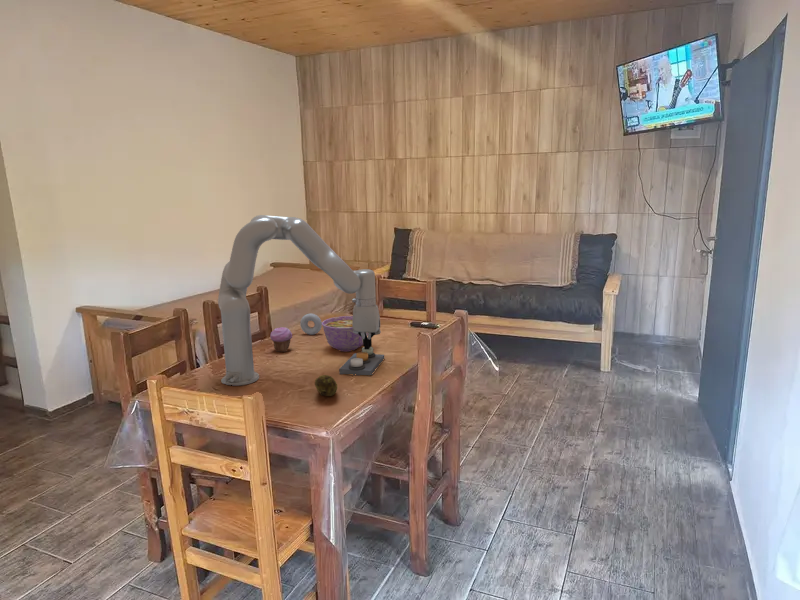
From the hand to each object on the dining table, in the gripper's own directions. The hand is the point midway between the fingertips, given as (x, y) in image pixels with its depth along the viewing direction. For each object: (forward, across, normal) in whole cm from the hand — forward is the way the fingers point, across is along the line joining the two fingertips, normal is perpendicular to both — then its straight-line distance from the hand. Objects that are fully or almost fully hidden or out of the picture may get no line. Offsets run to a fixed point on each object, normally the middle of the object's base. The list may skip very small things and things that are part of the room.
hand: (367, 348), depth 217 cm
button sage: (+2, 0, 0) cm, 2 cm away
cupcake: (+5, -39, +7) cm, 40 cm away
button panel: (+5, 0, -7) cm, 9 cm away
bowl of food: (+5, -13, +14) cm, 20 cm away
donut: (+5, -36, +32) cm, 48 cm away
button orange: (+2, 0, -7) cm, 7 cm away
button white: (+2, 0, -14) cm, 14 cm away
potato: (+5, -3, -37) cm, 37 cm away
